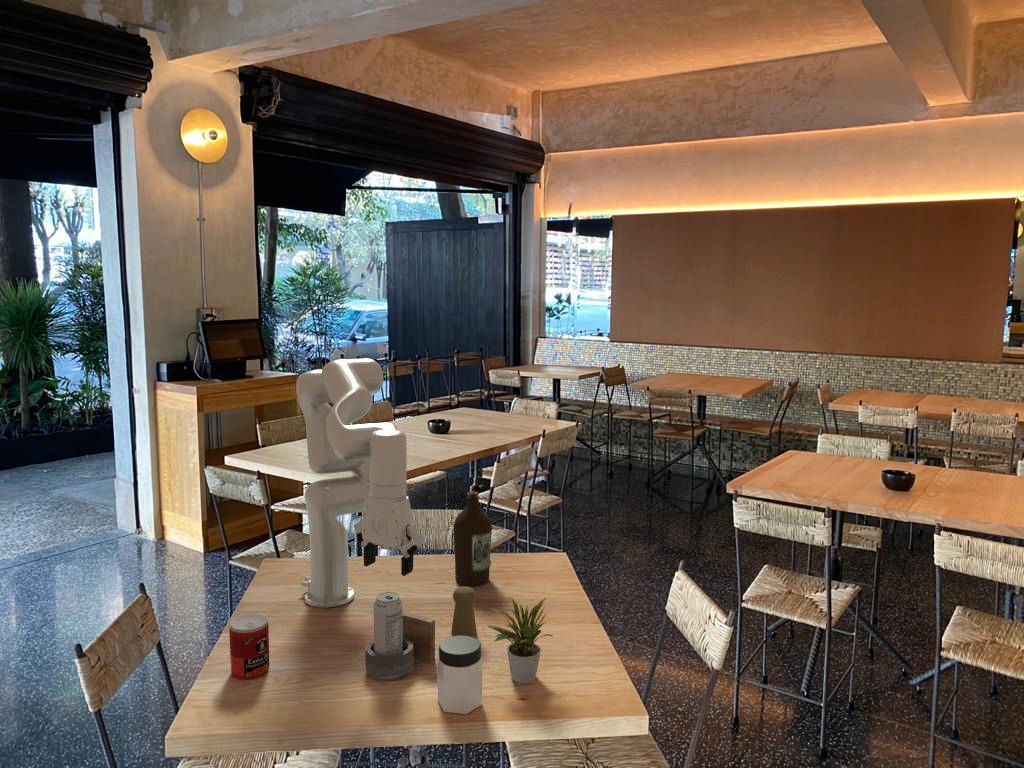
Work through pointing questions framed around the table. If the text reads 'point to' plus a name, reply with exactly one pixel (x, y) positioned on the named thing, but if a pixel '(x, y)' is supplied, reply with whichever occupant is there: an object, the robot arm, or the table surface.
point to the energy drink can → (388, 624)
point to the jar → (460, 674)
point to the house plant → (522, 643)
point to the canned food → (249, 646)
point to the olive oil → (472, 543)
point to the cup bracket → (414, 645)
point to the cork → (464, 612)
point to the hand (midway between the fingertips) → (388, 568)
